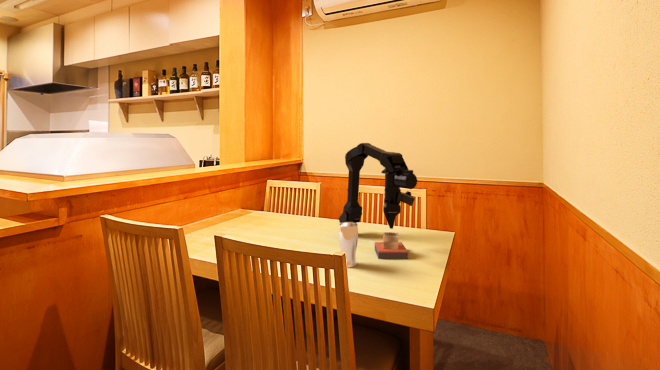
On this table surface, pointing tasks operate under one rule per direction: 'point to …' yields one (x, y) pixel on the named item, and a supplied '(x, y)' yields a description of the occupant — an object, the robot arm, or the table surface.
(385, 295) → the table surface
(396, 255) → the red square block
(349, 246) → the beer glass
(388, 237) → the masu
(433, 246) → the table surface
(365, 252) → the table surface
